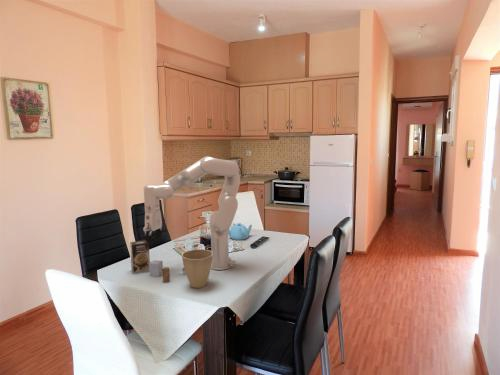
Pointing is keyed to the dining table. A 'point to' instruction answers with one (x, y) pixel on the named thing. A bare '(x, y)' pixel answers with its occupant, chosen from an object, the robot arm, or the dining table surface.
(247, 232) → the teapot
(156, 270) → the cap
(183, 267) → the short post
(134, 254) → the coffee box
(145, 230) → the robot arm
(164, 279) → the post
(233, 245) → the dining table surface
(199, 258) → the plant pot
